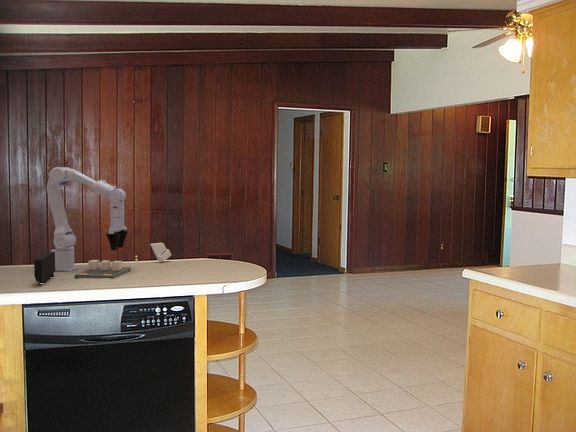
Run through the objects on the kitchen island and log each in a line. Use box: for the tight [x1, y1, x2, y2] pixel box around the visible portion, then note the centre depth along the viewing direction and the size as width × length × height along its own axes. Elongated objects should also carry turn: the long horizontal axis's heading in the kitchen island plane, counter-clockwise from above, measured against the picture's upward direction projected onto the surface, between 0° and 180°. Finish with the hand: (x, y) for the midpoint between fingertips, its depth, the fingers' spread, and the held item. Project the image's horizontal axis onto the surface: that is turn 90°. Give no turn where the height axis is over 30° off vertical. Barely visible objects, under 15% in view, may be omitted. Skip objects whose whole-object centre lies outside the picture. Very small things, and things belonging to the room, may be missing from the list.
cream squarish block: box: [111, 260, 123, 271], centre depth 238 cm, size 3×4×4 cm
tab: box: [99, 259, 112, 270], centre depth 238 cm, size 3×4×4 cm
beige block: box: [87, 259, 100, 270], centre depth 239 cm, size 3×4×4 cm
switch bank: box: [74, 265, 132, 280], centre depth 237 cm, size 16×20×2 cm
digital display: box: [33, 251, 56, 284], centre depth 221 cm, size 21×3×10 cm, turn 10°
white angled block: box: [149, 242, 172, 263], centre depth 271 cm, size 4×10×9 cm, turn 143°
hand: (117, 248), depth 244 cm, fingers open, 7 cm apart
